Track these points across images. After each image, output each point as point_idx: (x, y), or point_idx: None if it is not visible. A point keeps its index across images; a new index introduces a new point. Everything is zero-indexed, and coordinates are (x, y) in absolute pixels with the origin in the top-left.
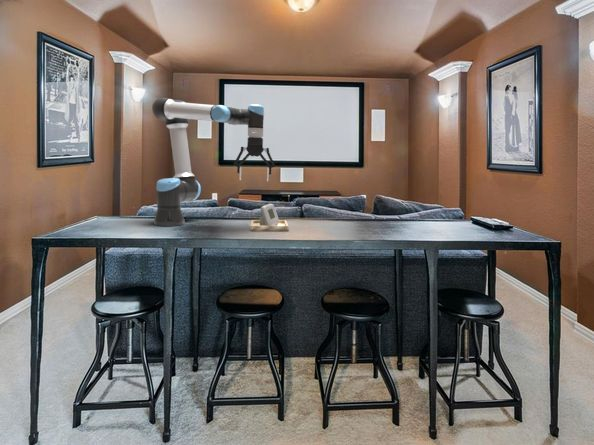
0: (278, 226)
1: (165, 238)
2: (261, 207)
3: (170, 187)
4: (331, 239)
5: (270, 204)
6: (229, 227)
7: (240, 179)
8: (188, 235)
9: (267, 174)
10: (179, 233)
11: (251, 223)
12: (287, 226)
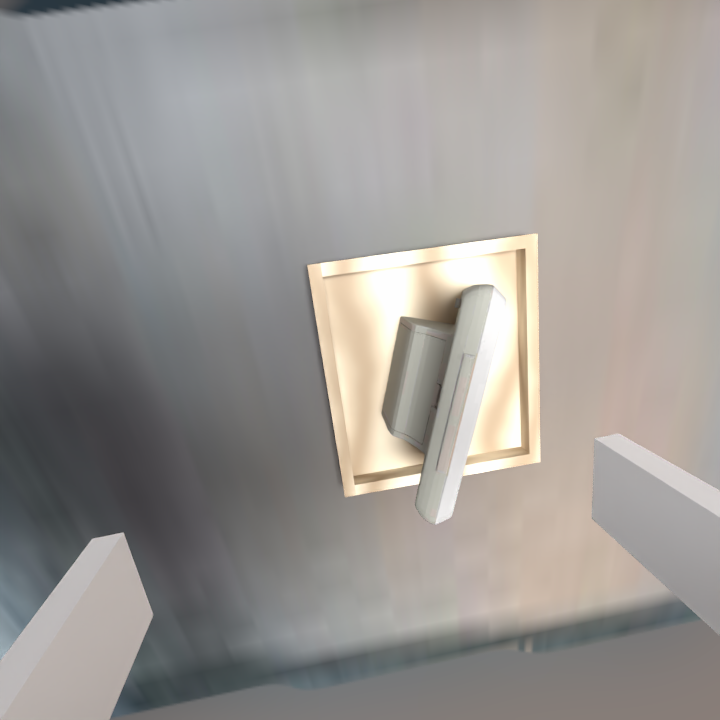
0: (489, 470)
1: None
2: (425, 518)
3: None
4: None
5: (486, 368)
6: (198, 387)
7: (138, 628)
8: None
9: (705, 617)
10: (14, 605)
11: (334, 411)
12: (535, 461)
